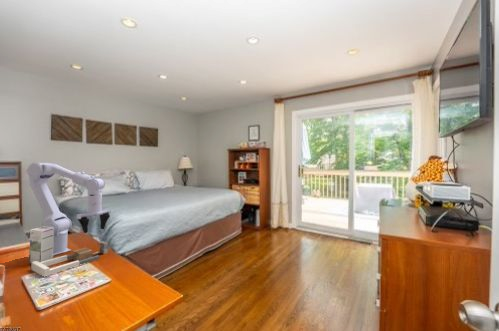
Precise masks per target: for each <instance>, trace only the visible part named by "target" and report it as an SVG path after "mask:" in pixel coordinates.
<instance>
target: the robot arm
mask: <svg viewBox="0 0 499 331" xmlns="http://www.w3.org/2000/svg"><path fill="white" fill-rule="evenodd" d="M26 173H27V175H28V181H29V182H28V183H29V186H30V187H31V190H32V192H33V194H34V196H35V198H36V200H37V202H38V205H39V206H40V208H41V210H42V212H43V214H44V216H45V219H44V220H43V221H42V224H43V226H44V227H54V240H53V256H56V255H59V254H64V253H67V252H70V251H72V249H70V248H68V236H69V235H68V232H69V229H70V228H71V227H72V225H73V224H72V220H71V219H70V218H69V217H67V214H65V213H63V212H61V211H60V209H59V207H58V205H57V202H56V201H55V198H54V197H53V194H52V193H51V190H50V189H49V186H48V184H47V183H48V181H50V179H52V177H54V175H57V176H62V177H65V178H67V179H70V180H71V181H72V183H74V184H76V185H78V186H82V187H84V188H85V189H86V190H87V212H82V213H77V214H76V219H77V220H78V222H79V223H80V226H81V228H82V232H83V233H84V234H88V231H89V230H88V227H89V221H90V219H89V217H90V218H91V217H97V216H99V220H100V224H99V226H100V229H101V230H105V228H106V224H107V222H108V220H109V218H110V216H111V213H112V210H111V209H103V189H104V188H105V185H106V183H105V180H104V179H103V178H101V177H96V178H95V176H94V175H92V176H91V175H89V174H86V172H84V171H77V172H75V171H72V170H70V169H67V168H66V167H63V166H61V165H60V164H56V163H54V162H32V163H30V164H29V165H28V168H27V169H26Z"/></svg>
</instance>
